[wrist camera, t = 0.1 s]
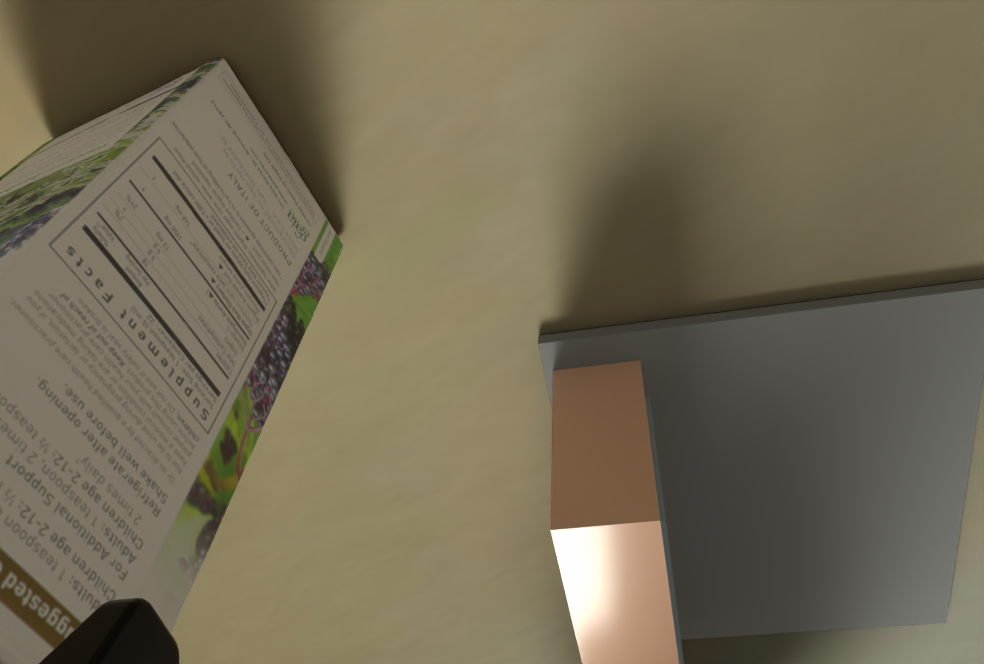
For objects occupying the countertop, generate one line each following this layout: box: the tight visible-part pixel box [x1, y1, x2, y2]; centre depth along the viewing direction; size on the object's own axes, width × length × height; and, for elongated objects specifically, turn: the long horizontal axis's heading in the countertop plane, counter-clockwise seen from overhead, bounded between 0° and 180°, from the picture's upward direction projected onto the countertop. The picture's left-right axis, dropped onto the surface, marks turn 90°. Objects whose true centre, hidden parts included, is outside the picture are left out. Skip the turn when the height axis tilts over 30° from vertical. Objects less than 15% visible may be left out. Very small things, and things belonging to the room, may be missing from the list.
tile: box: [551, 360, 684, 664], centre depth 25 cm, size 12×3×6 cm, turn 12°
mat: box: [538, 279, 984, 640], centre depth 27 cm, size 14×12×1 cm
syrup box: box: [0, 58, 343, 664], centre depth 17 cm, size 6×6×14 cm
